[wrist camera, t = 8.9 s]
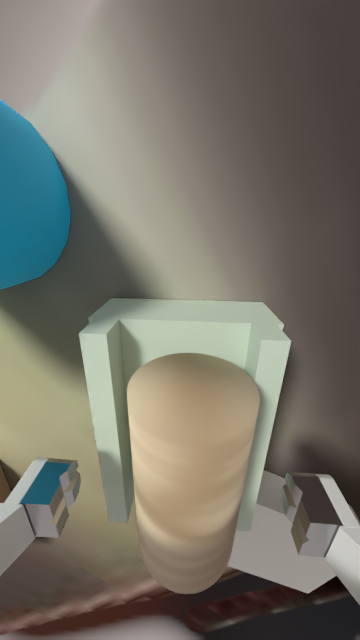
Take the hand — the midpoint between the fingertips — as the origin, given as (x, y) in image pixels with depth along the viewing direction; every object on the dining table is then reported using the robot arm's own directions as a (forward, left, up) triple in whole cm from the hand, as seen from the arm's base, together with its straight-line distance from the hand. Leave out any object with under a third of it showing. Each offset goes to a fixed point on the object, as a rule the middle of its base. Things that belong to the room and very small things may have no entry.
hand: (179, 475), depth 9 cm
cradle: (0, 0, -6) cm, 6 cm away
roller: (0, 0, -3) cm, 3 cm away
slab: (-7, +12, -6) cm, 15 cm away
